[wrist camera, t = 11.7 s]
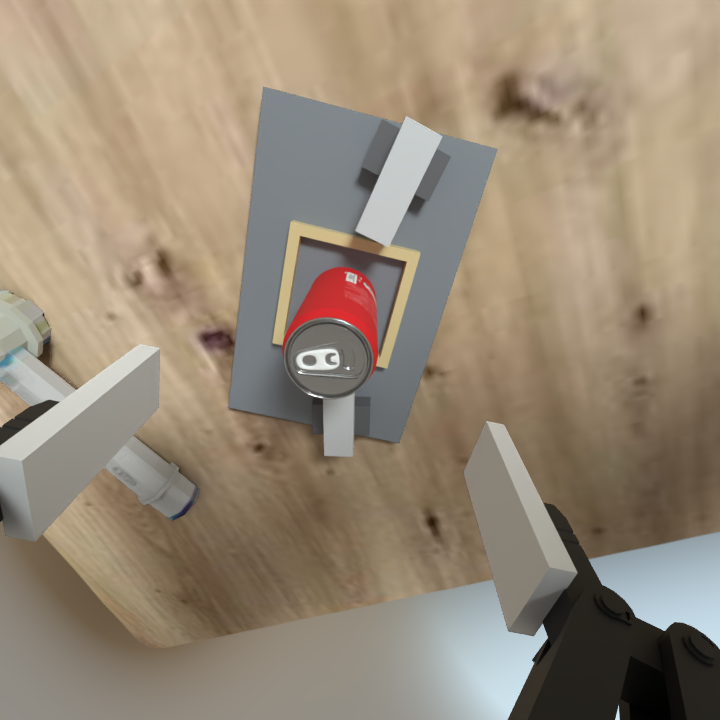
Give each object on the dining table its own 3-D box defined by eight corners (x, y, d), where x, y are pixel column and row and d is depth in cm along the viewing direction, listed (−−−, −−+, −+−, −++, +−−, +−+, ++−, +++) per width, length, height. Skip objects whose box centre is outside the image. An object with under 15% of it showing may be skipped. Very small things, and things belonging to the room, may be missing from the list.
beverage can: (378, 325, 33) (381, 401, 22) (315, 329, 33) (287, 406, 22) (373, 261, 31) (374, 309, 20) (306, 266, 31) (270, 317, 20)
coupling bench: (267, 90, 27) (245, 72, 22) (492, 150, 28) (516, 145, 24) (232, 400, 38) (212, 433, 33) (398, 435, 39) (401, 472, 34)
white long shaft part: (156, 530, 40) (-111, 343, 28) (179, 478, 46) (-36, 304, 34) (197, 511, 39) (-66, 307, 27) (215, 459, 44) (5, 273, 33)
